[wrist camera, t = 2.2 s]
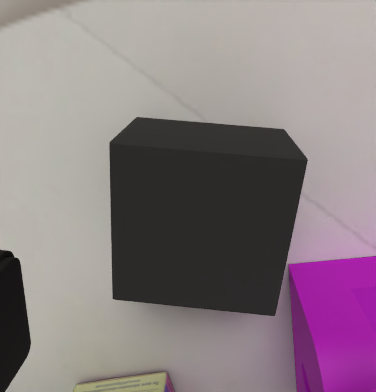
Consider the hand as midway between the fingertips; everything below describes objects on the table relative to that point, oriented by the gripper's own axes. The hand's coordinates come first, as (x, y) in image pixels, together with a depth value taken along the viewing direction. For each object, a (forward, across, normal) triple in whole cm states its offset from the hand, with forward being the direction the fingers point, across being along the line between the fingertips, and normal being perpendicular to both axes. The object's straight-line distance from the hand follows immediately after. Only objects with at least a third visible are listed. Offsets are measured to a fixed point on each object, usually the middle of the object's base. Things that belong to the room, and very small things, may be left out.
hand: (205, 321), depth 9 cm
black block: (+8, 0, 0) cm, 8 cm away
